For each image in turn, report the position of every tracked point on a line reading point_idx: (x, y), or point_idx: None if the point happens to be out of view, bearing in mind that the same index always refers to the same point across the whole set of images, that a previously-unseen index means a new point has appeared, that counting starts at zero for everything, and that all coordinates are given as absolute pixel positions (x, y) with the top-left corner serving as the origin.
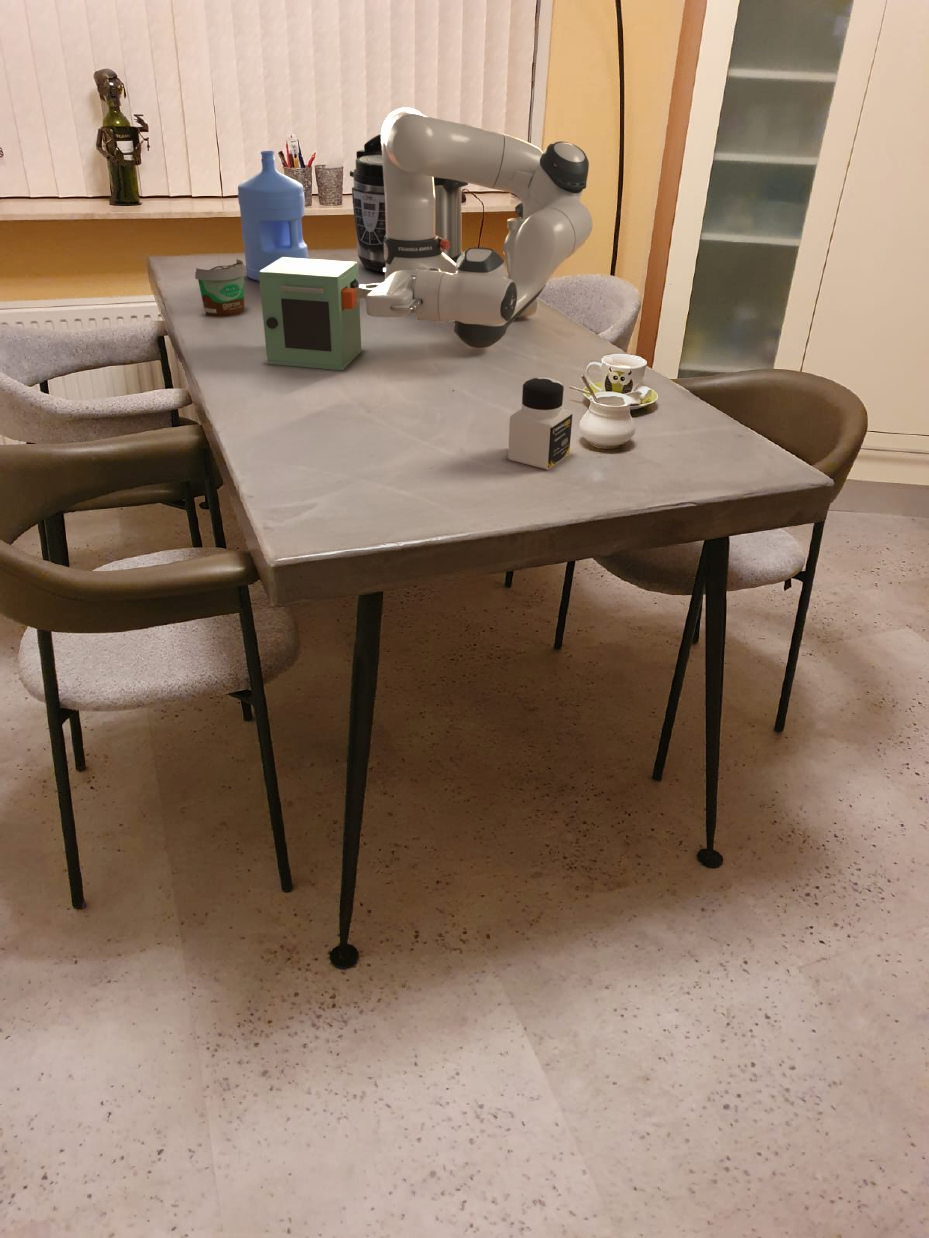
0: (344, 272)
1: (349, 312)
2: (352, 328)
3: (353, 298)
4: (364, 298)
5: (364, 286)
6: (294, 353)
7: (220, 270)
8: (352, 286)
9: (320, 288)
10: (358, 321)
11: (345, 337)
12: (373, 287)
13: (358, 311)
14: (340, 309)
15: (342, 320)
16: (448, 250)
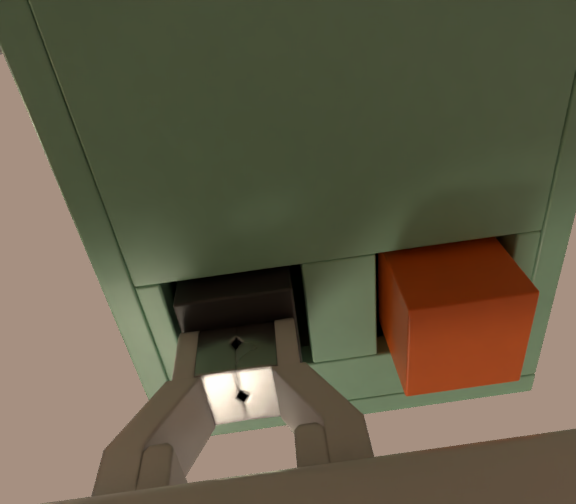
0: (412, 406)
1: (348, 209)
2: (276, 70)
3: (488, 352)
4: (312, 370)
5: (249, 414)
6: None
7: None
8: (300, 357)
9: None
10: (87, 111)
11: (501, 15)
12: (182, 461)
13: (105, 194)
14: (547, 245)
15: (528, 171)
16: None
